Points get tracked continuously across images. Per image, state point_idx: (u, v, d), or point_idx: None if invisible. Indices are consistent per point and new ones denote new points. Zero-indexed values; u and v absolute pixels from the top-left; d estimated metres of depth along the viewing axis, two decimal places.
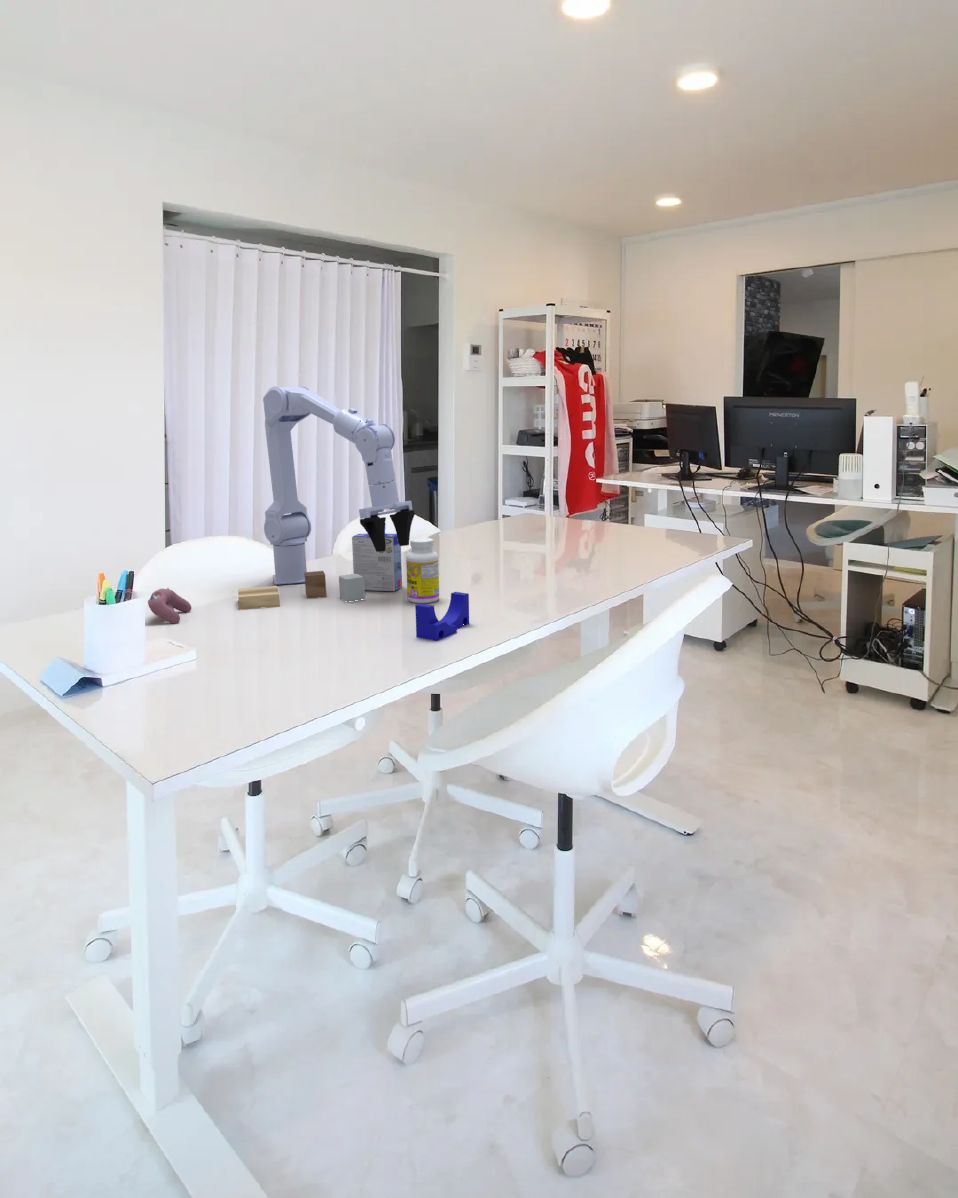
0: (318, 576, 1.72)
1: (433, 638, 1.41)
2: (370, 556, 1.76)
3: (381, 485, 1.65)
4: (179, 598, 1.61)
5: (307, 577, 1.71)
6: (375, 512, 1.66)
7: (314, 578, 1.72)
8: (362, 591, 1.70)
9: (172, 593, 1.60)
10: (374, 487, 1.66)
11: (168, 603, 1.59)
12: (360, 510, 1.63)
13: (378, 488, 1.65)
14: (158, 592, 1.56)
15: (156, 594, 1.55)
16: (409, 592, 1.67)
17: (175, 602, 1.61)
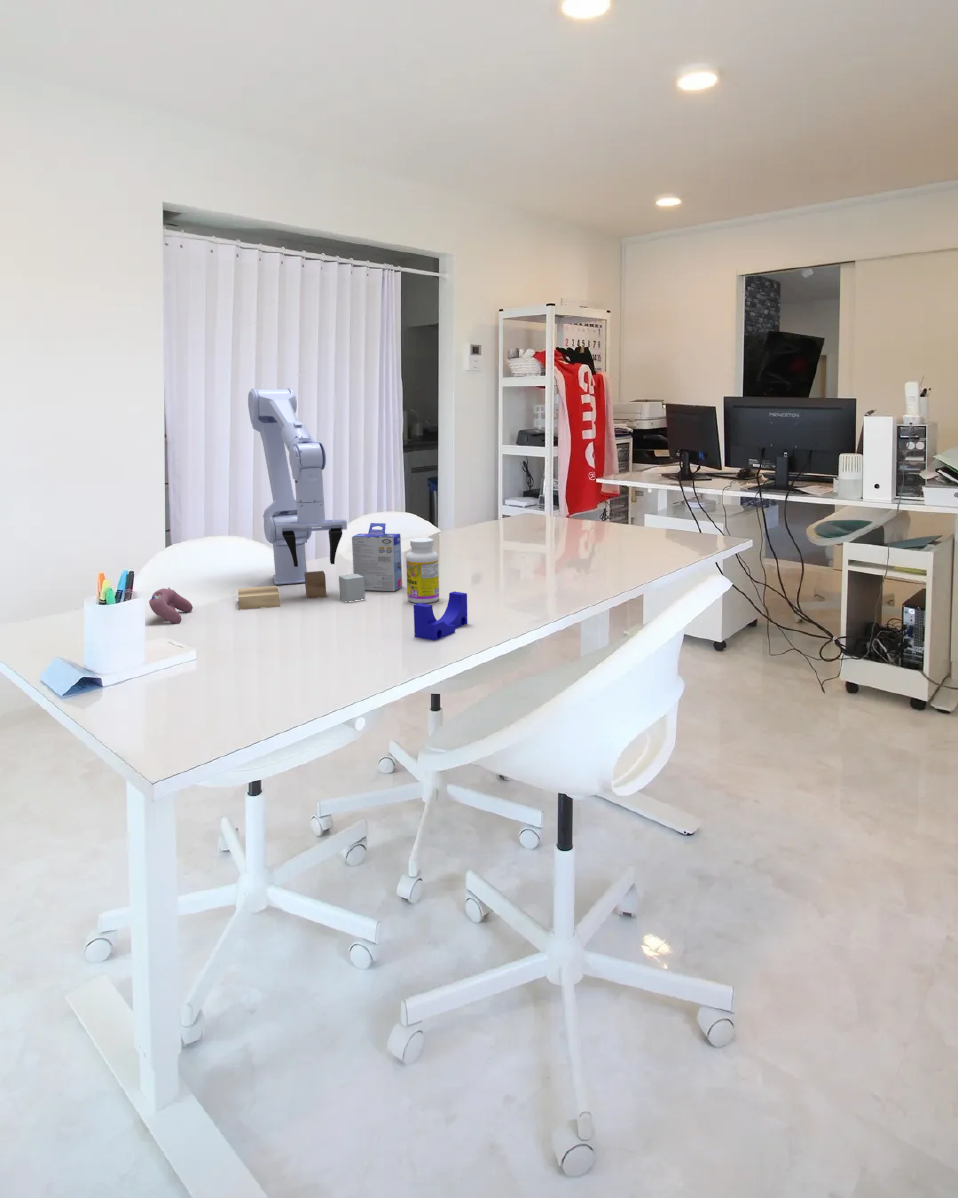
0: (318, 576, 1.72)
1: (431, 638, 1.41)
2: (370, 556, 1.76)
3: (299, 504, 1.68)
4: (180, 598, 1.61)
5: (307, 577, 1.71)
6: (293, 528, 1.70)
7: (314, 578, 1.72)
8: (362, 591, 1.70)
9: (173, 593, 1.60)
10: (296, 504, 1.69)
11: (169, 603, 1.59)
12: (276, 525, 1.69)
13: (298, 506, 1.68)
14: (159, 592, 1.56)
15: (157, 594, 1.55)
16: (409, 592, 1.67)
17: (176, 602, 1.61)
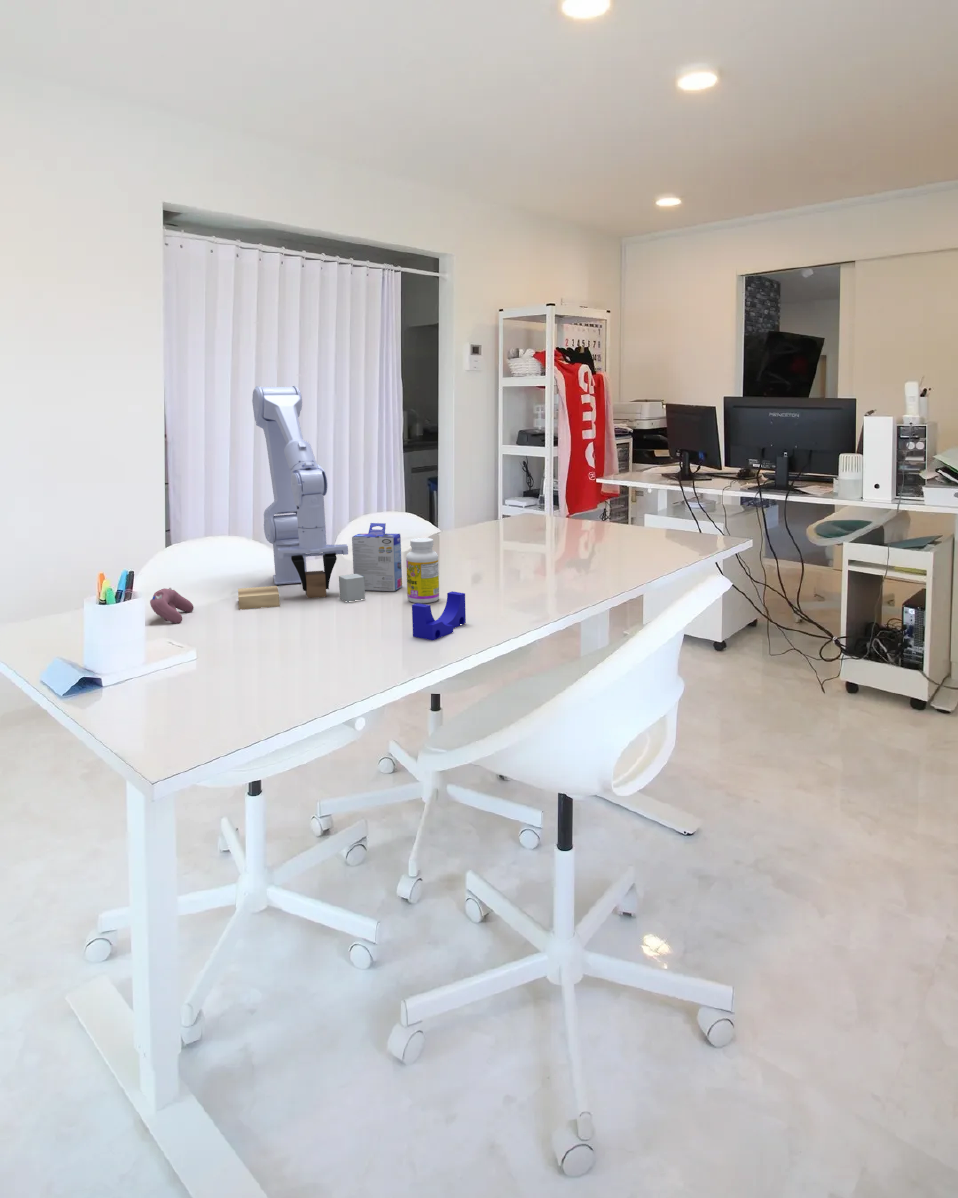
0: (318, 576, 1.72)
1: (430, 638, 1.41)
2: (370, 556, 1.76)
3: (301, 530, 1.69)
4: (181, 598, 1.61)
5: (307, 577, 1.71)
6: (295, 553, 1.71)
7: (314, 578, 1.72)
8: (362, 591, 1.70)
9: (174, 593, 1.60)
10: (298, 530, 1.70)
11: (170, 603, 1.59)
12: (278, 550, 1.71)
13: (299, 532, 1.70)
14: (160, 592, 1.56)
15: (158, 594, 1.55)
16: (409, 592, 1.67)
17: (177, 602, 1.61)
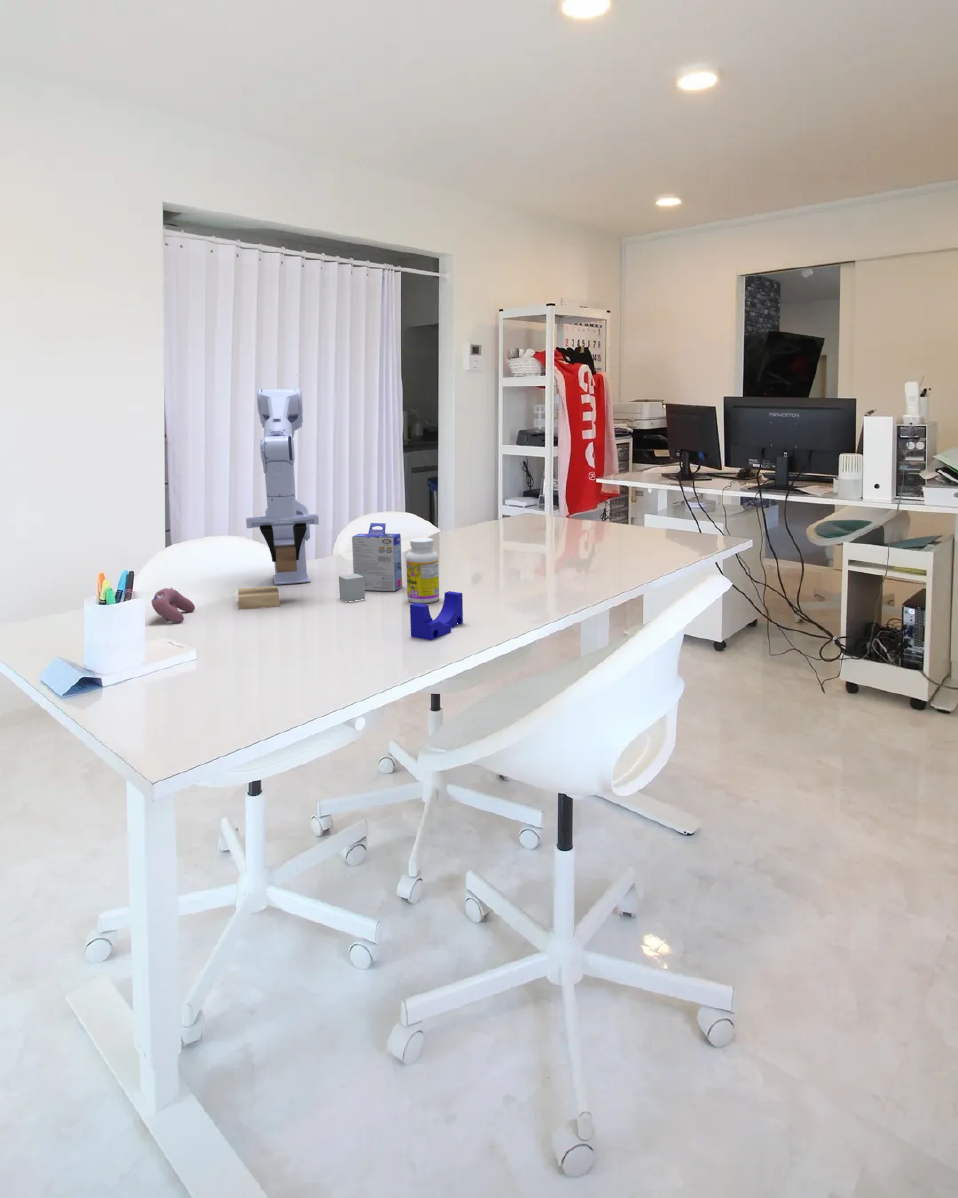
0: (288, 549, 1.67)
1: (428, 637, 1.41)
2: (370, 556, 1.76)
3: (270, 498, 1.64)
4: (182, 598, 1.61)
5: (277, 550, 1.66)
6: (264, 523, 1.66)
7: (284, 552, 1.67)
8: (362, 591, 1.70)
9: (176, 593, 1.60)
10: None
11: (172, 603, 1.59)
12: (246, 519, 1.66)
13: (268, 500, 1.65)
14: (162, 592, 1.56)
15: (160, 594, 1.55)
16: (409, 592, 1.67)
17: (178, 602, 1.61)
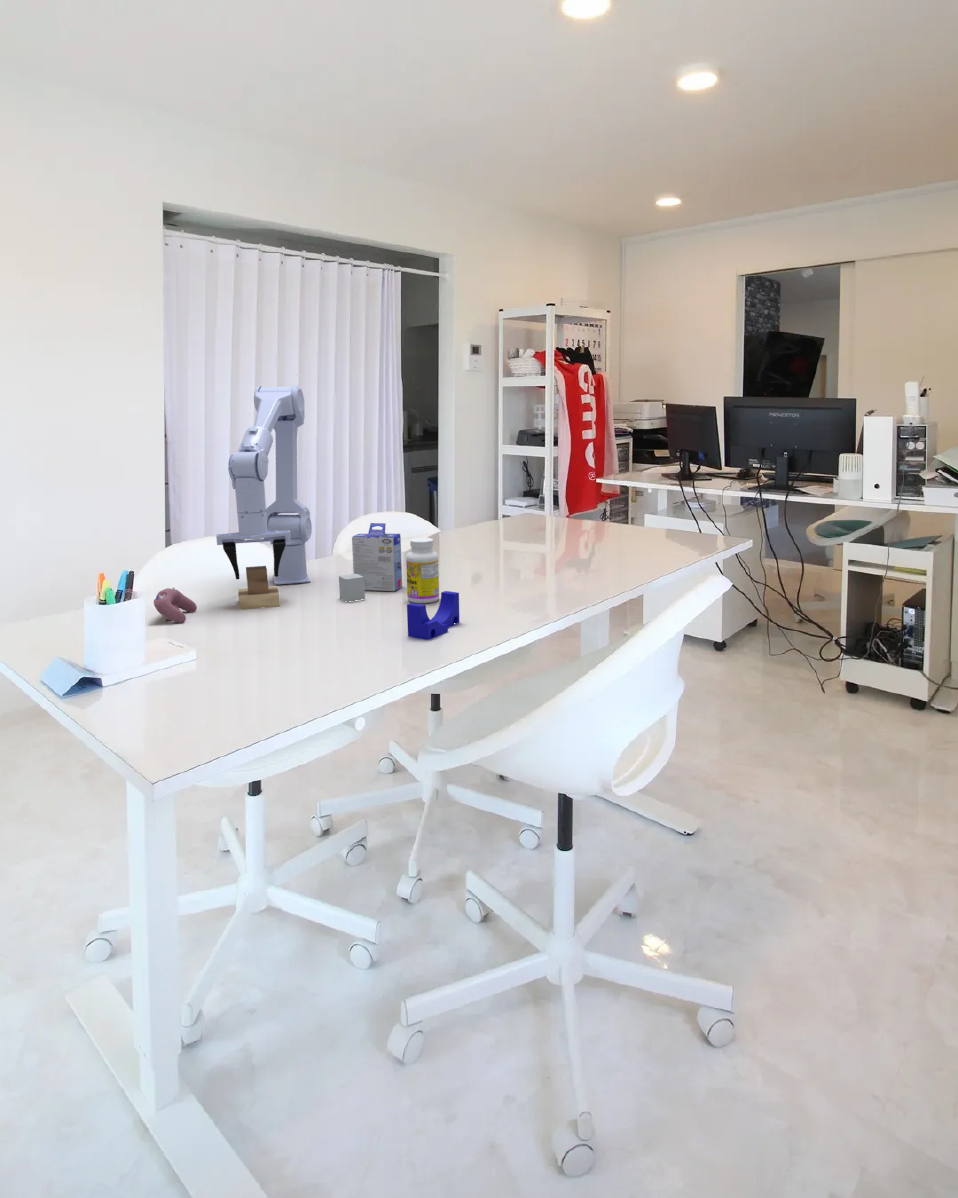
0: (259, 571, 1.65)
1: (425, 637, 1.42)
2: (370, 556, 1.76)
3: (240, 514, 1.62)
4: (184, 598, 1.61)
5: (248, 572, 1.64)
6: (234, 539, 1.64)
7: (255, 573, 1.65)
8: (362, 591, 1.70)
9: (177, 593, 1.60)
10: (237, 514, 1.63)
11: (173, 603, 1.60)
12: (216, 536, 1.64)
13: (238, 517, 1.62)
14: (164, 592, 1.56)
15: (162, 594, 1.55)
16: (409, 592, 1.67)
17: (180, 602, 1.61)
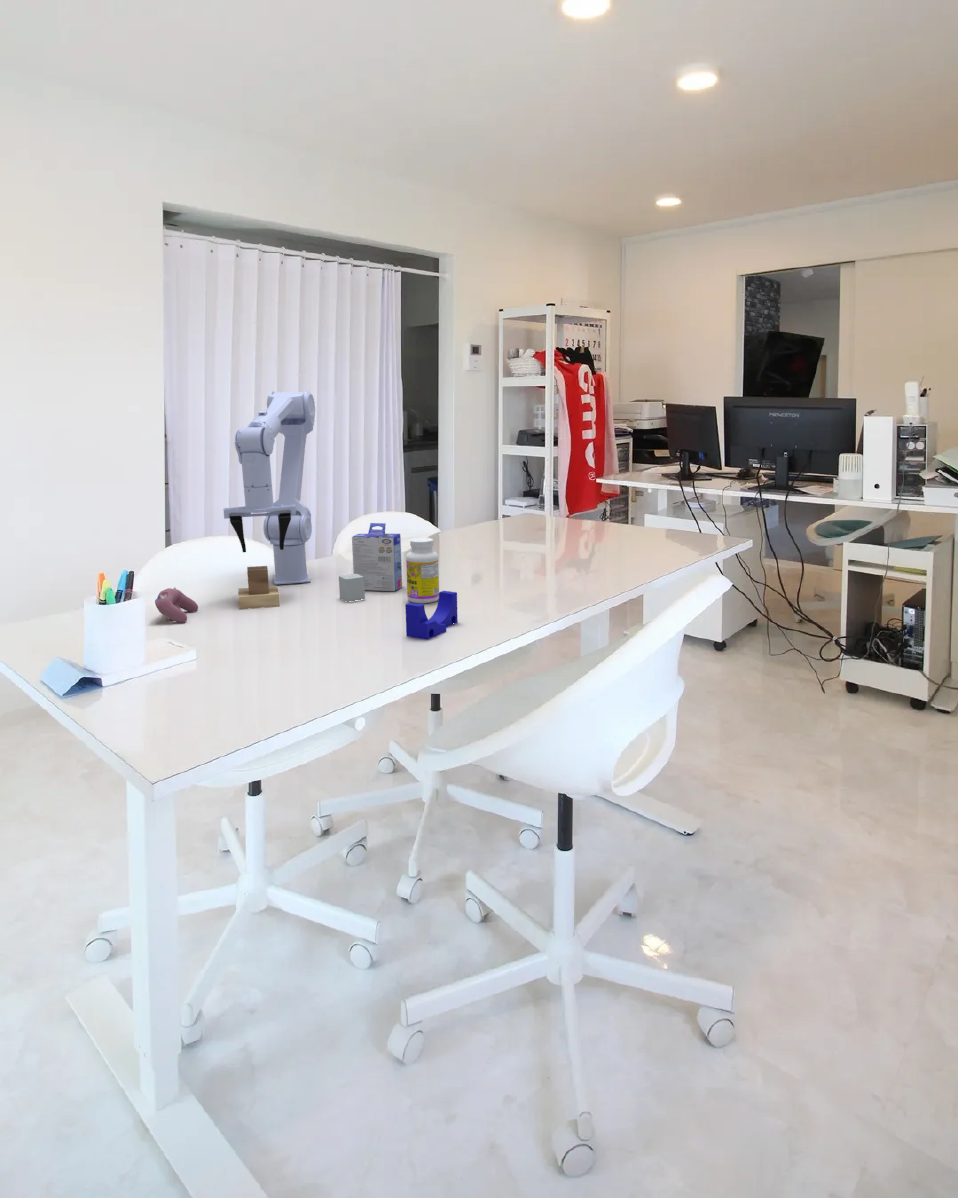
0: (260, 571, 1.65)
1: (423, 637, 1.42)
2: (370, 556, 1.76)
3: (246, 488, 1.66)
4: (186, 598, 1.61)
5: (248, 572, 1.64)
6: (241, 513, 1.68)
7: (256, 574, 1.65)
8: (362, 591, 1.70)
9: (179, 593, 1.60)
10: (244, 489, 1.67)
11: (175, 603, 1.60)
12: None
13: (245, 491, 1.67)
14: (165, 592, 1.56)
15: (163, 594, 1.55)
16: (409, 592, 1.67)
17: (182, 602, 1.61)
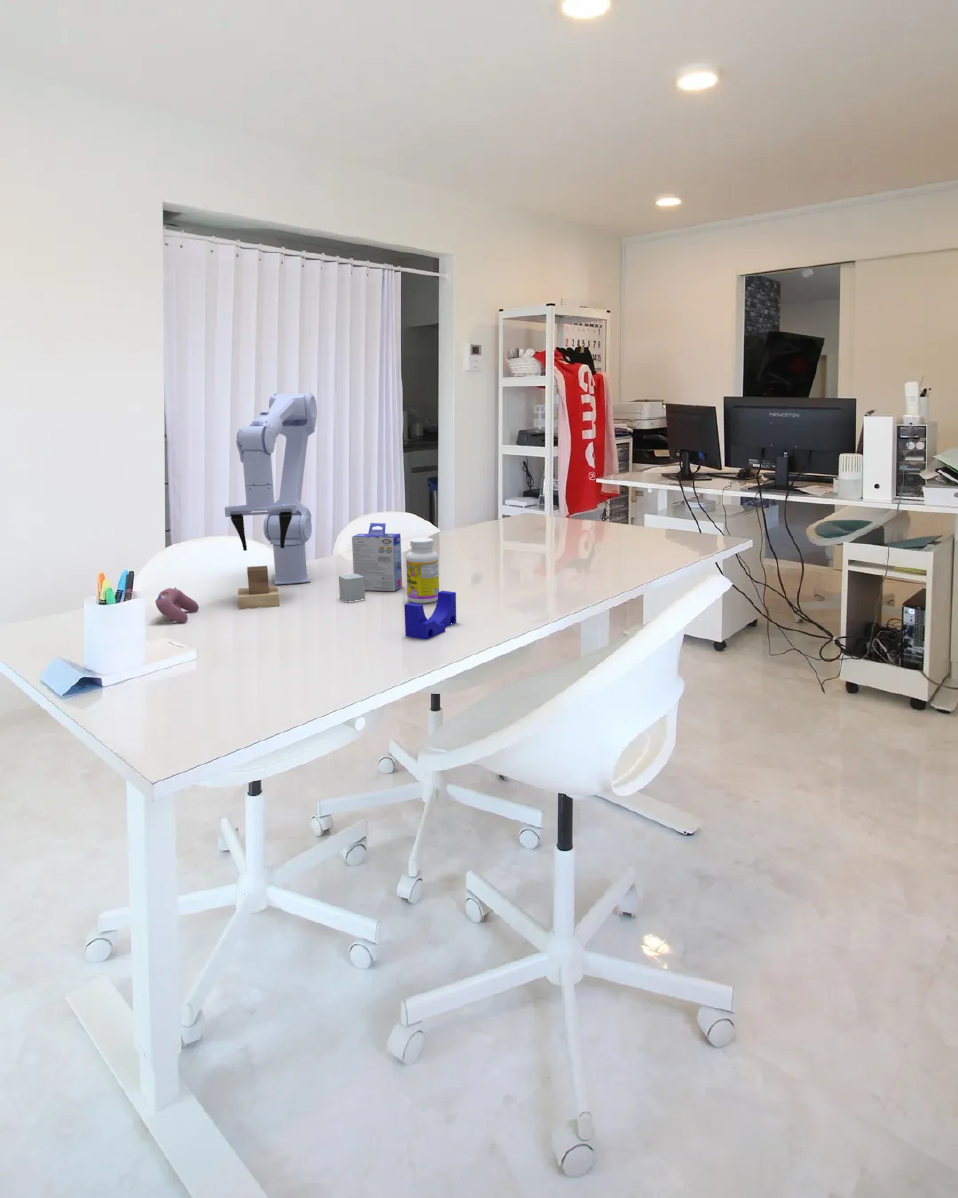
0: (260, 571, 1.65)
1: (423, 637, 1.42)
2: (370, 556, 1.76)
3: (248, 487, 1.67)
4: (186, 598, 1.61)
5: (248, 572, 1.64)
6: (242, 512, 1.69)
7: (256, 573, 1.65)
8: (362, 591, 1.70)
9: (179, 593, 1.60)
10: (245, 487, 1.68)
11: (175, 603, 1.60)
12: None
13: (246, 489, 1.67)
14: (165, 592, 1.56)
15: (163, 594, 1.55)
16: (409, 592, 1.67)
17: (182, 602, 1.61)
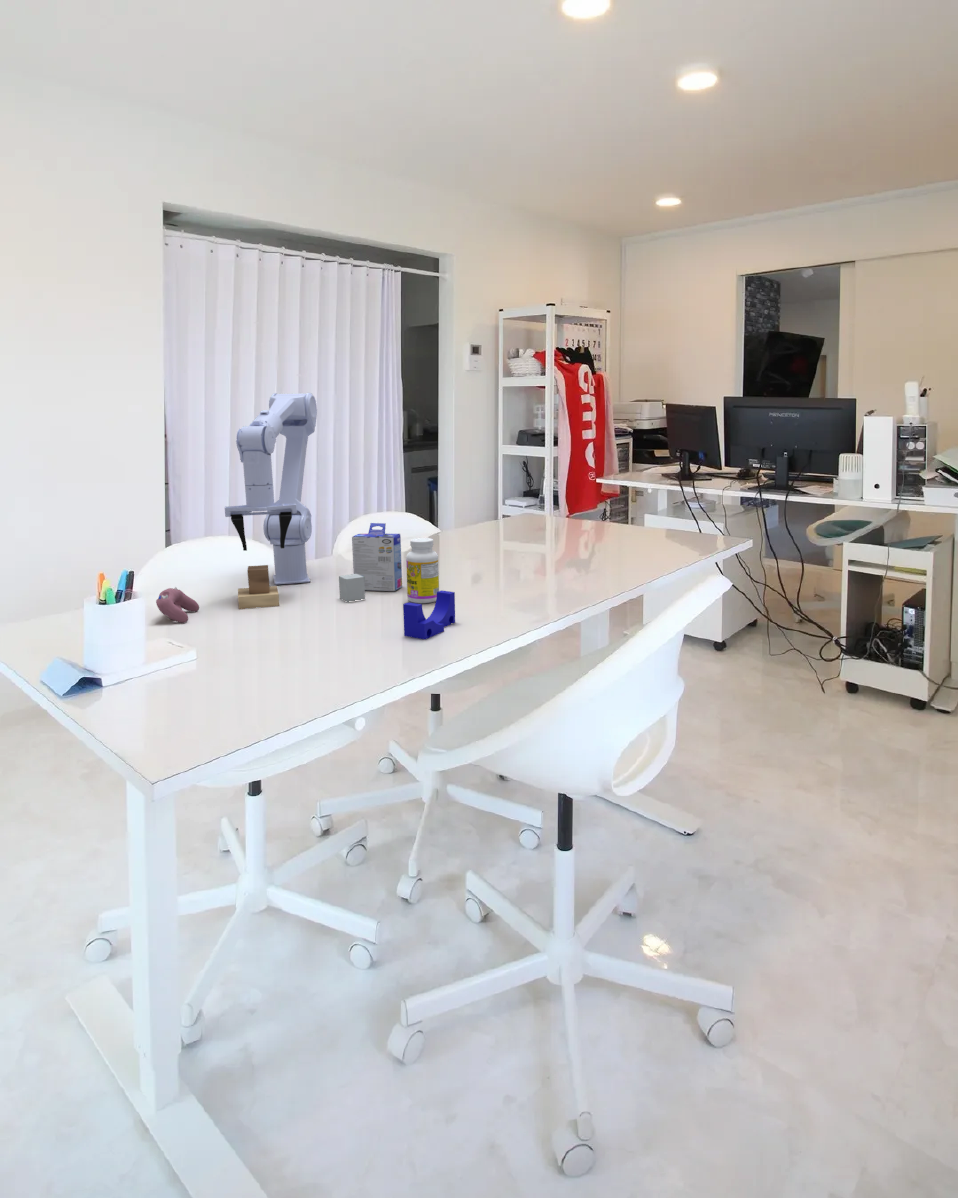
0: (260, 571, 1.65)
1: (421, 637, 1.42)
2: (370, 556, 1.76)
3: (248, 487, 1.67)
4: (187, 598, 1.61)
5: (249, 572, 1.65)
6: (242, 512, 1.69)
7: (256, 573, 1.65)
8: (362, 591, 1.70)
9: (180, 593, 1.60)
10: (245, 487, 1.68)
11: (176, 603, 1.60)
12: None
13: (246, 489, 1.67)
14: (166, 592, 1.56)
15: (164, 594, 1.55)
16: (409, 592, 1.67)
17: (183, 602, 1.61)
